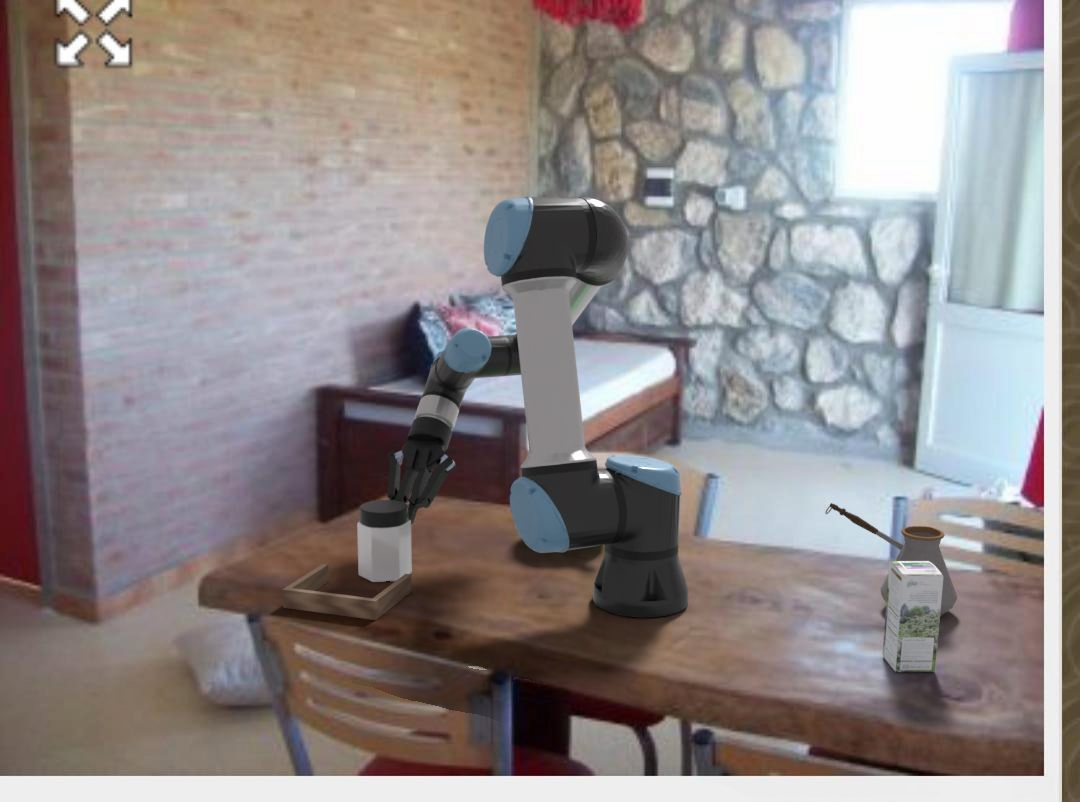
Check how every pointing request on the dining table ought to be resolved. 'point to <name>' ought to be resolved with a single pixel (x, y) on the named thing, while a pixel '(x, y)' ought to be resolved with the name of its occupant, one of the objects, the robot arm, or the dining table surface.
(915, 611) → the syrup box
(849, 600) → the dining table surface
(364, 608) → the box
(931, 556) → the coffee pot
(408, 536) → the jar
